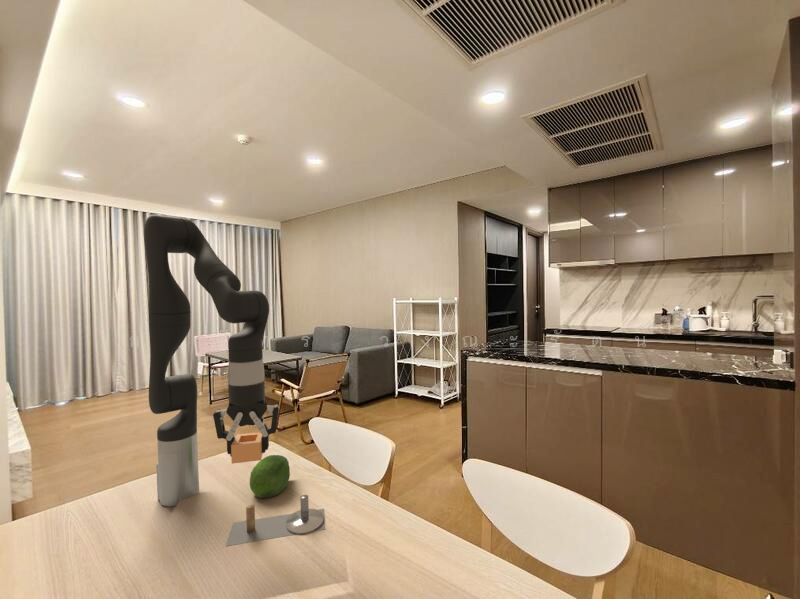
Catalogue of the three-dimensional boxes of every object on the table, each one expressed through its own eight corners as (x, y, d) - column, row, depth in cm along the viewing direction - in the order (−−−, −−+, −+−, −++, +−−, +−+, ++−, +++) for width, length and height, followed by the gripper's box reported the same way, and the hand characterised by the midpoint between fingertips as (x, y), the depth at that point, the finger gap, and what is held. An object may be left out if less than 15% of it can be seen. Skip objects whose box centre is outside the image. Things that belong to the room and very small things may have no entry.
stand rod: (246, 533, 83) (245, 509, 83) (247, 528, 85) (246, 505, 85) (254, 532, 84) (253, 508, 83) (255, 527, 85) (255, 503, 85)
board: (225, 552, 79) (225, 546, 79) (233, 529, 87) (232, 522, 87) (325, 535, 84) (325, 529, 84) (323, 514, 92) (323, 508, 92)
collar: (231, 463, 80) (231, 445, 80) (236, 451, 86) (236, 434, 86) (261, 460, 81) (260, 442, 81) (264, 448, 87) (263, 431, 87)
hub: (284, 537, 82) (284, 510, 82) (286, 513, 90) (286, 489, 90) (324, 530, 84) (323, 504, 84) (322, 508, 92) (322, 484, 92)
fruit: (267, 476, 111) (266, 443, 111) (299, 477, 110) (298, 444, 110) (241, 506, 96) (240, 469, 95) (279, 508, 95) (278, 470, 95)
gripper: (206, 386, 77) (209, 465, 78) (278, 381, 81) (280, 456, 82) (215, 377, 85) (217, 449, 85) (281, 373, 88) (283, 442, 89)
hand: (248, 452), depth 84 cm, fingers closed on collar, 6 cm apart
